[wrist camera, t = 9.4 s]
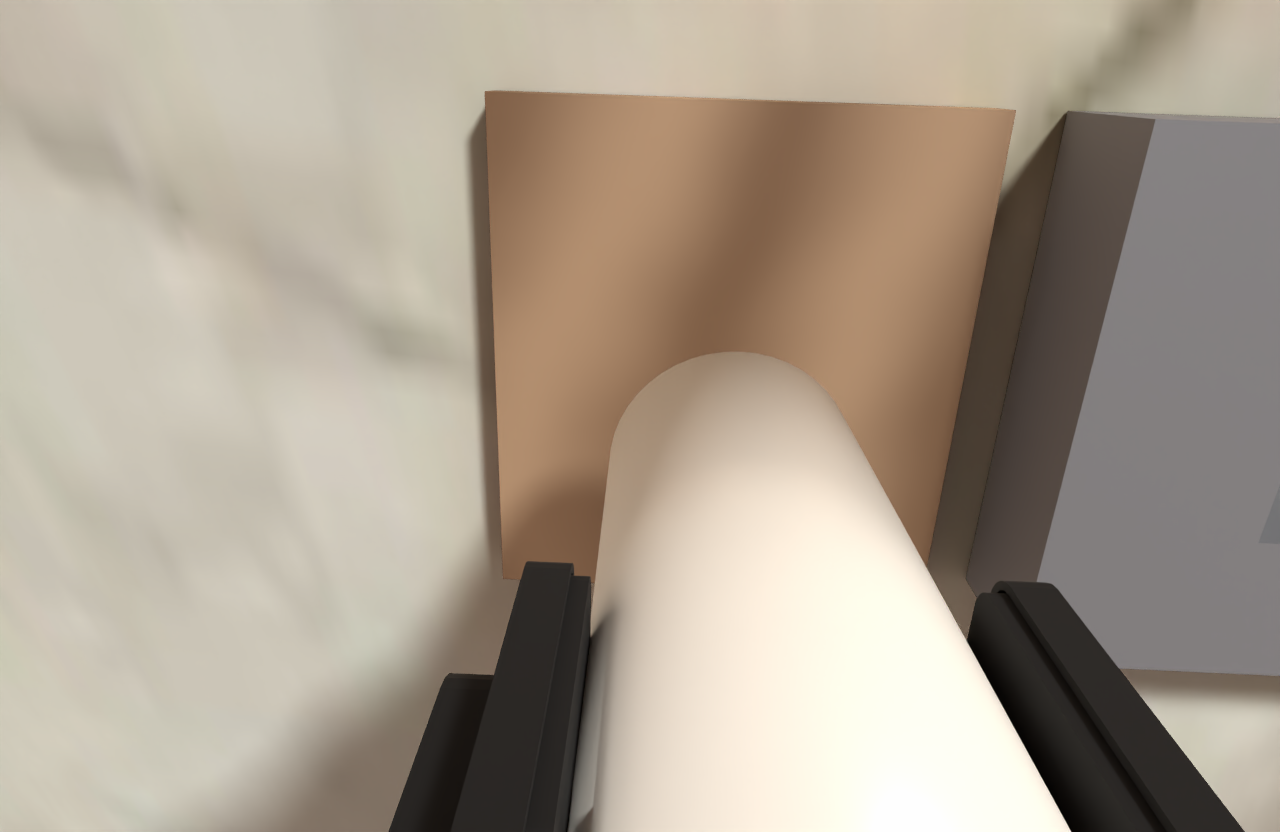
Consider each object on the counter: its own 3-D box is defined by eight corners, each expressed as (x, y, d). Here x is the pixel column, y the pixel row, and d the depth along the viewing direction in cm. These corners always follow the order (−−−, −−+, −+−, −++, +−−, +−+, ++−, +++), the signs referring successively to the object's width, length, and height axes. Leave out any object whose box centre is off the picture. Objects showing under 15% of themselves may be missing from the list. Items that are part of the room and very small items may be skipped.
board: (998, 108, 18) (1016, 110, 17) (910, 576, 23) (920, 597, 22) (494, 90, 18) (485, 91, 17) (509, 558, 23) (503, 578, 22)
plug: (867, 356, 14) (1632, 1376, 3) (836, 573, 16) (1257, 1738, 5) (612, 346, 14) (456, 1327, 3) (607, 565, 16) (495, 1705, 5)
